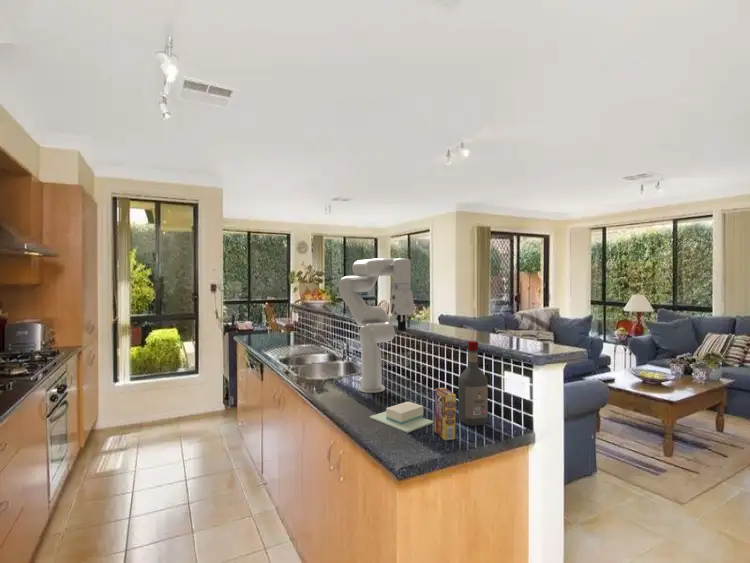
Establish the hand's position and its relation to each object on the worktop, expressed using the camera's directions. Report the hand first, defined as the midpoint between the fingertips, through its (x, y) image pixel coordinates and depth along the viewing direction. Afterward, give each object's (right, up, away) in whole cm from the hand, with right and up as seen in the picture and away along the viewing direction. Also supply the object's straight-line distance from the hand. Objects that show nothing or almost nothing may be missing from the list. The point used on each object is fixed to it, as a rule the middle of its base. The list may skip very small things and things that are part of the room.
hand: (401, 330), depth 175 cm
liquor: (+25, -32, -21) cm, 46 cm away
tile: (+4, -29, -14) cm, 32 cm away
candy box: (+13, -32, -34) cm, 48 cm away
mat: (-2, -32, -20) cm, 37 cm away
